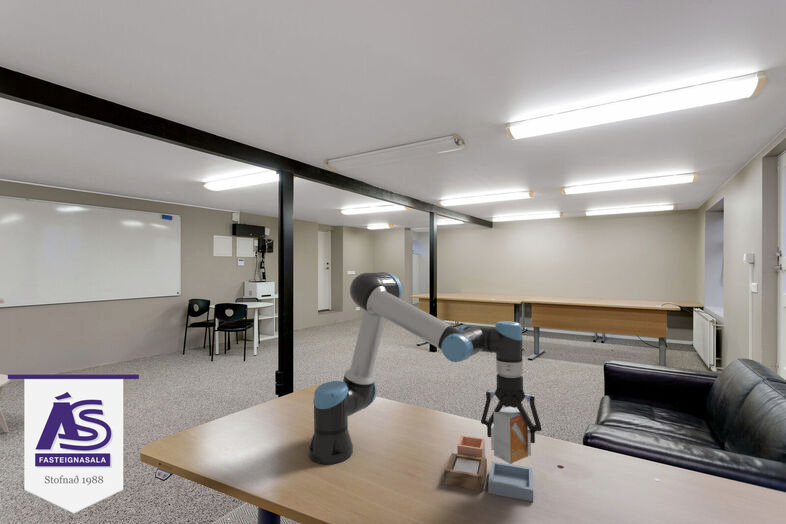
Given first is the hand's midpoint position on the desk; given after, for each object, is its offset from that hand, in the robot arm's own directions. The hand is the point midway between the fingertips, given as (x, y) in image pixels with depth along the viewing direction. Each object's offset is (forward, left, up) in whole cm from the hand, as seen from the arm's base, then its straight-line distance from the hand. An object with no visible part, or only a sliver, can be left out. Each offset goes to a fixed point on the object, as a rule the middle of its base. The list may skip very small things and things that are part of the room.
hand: (511, 450), depth 109 cm
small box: (0, 0, -2) cm, 2 cm away
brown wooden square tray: (-13, 0, -10) cm, 17 cm away
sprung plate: (-13, 0, -8) cm, 15 cm away
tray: (0, 0, -10) cm, 10 cm away
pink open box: (-13, +11, -10) cm, 20 cm away
